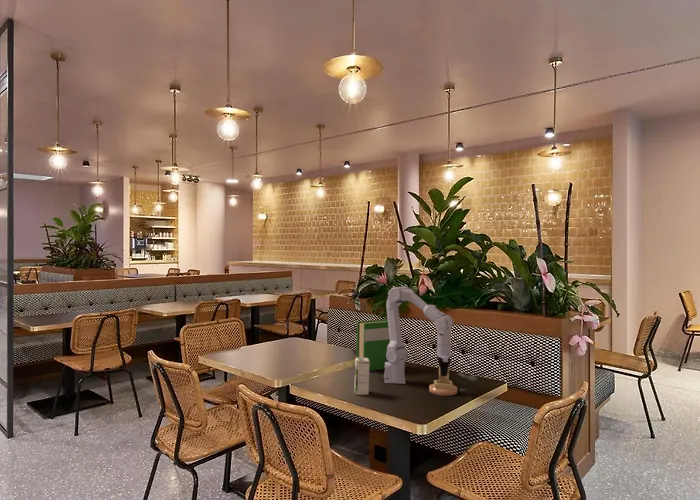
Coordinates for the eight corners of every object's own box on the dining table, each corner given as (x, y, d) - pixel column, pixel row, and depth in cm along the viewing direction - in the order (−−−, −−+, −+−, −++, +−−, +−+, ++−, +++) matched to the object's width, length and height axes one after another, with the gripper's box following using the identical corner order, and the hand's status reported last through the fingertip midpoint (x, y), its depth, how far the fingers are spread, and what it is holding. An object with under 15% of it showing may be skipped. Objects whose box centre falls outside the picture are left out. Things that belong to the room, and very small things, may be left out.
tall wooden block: (439, 381, 205) (439, 367, 205) (438, 379, 207) (439, 366, 207) (448, 381, 205) (449, 367, 205) (448, 380, 207) (448, 366, 207)
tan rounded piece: (430, 395, 201) (430, 385, 201) (428, 387, 212) (428, 378, 212) (459, 396, 199) (459, 386, 199) (455, 388, 211) (455, 379, 211)
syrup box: (353, 391, 205) (354, 357, 205) (367, 390, 205) (368, 357, 205) (355, 395, 199) (355, 360, 199) (369, 395, 199) (369, 360, 199)
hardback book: (364, 371, 238) (364, 323, 238) (356, 368, 244) (357, 321, 244) (392, 367, 247) (393, 321, 247) (384, 364, 253) (385, 319, 253)
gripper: (455, 347, 198) (455, 379, 198) (451, 340, 213) (450, 371, 213) (438, 346, 199) (437, 379, 199) (435, 340, 213) (434, 370, 213)
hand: (443, 375), depth 206 cm, fingers closed on tall wooden block, 2 cm apart
